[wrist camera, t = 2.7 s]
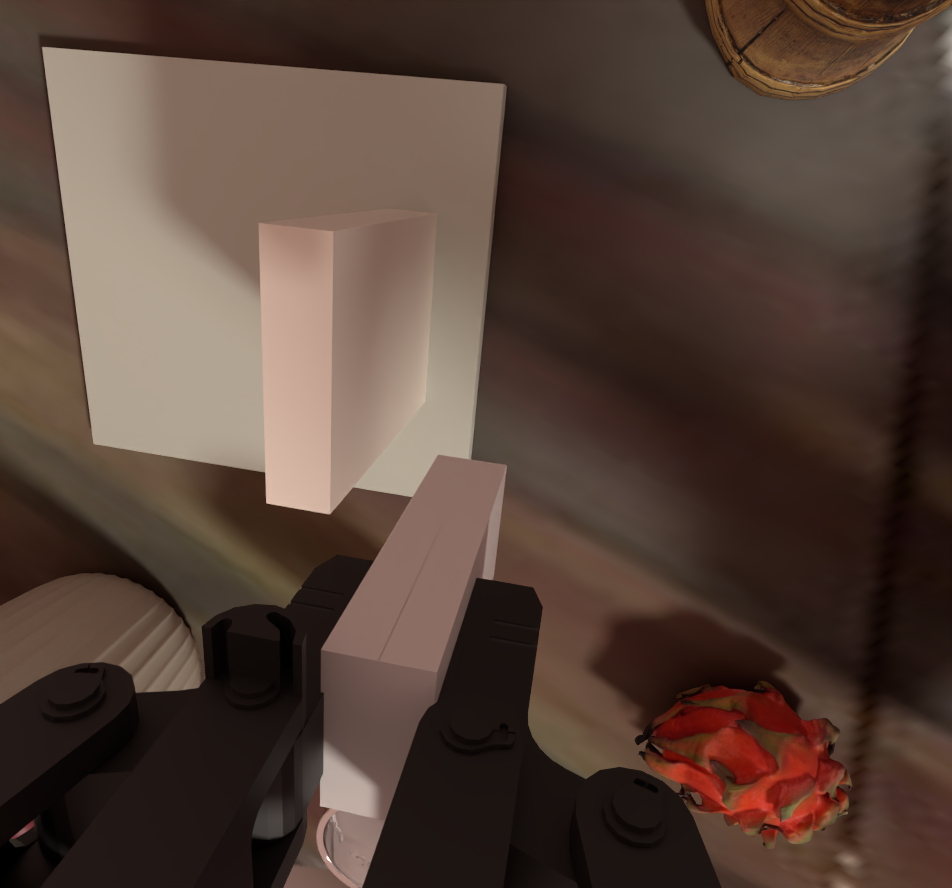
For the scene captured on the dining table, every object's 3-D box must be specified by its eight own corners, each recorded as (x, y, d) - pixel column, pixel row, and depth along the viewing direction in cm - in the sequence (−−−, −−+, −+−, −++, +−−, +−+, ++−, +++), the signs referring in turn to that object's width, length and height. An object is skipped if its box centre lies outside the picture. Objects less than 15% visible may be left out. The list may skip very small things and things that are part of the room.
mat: (506, 87, 32) (504, 83, 31) (467, 498, 40) (464, 505, 40) (56, 50, 36) (42, 46, 35) (104, 438, 44) (93, 443, 43)
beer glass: (381, 636, 45) (282, 833, 32) (454, 583, 43) (382, 772, 29) (451, 705, 46) (385, 925, 33) (527, 658, 44) (489, 874, 30)
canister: (112, 483, 45) (-264, 709, 26) (293, 675, 48) (81, 1007, 29) (-24, 606, 51) (-407, 861, 32) (143, 768, 54) (-113, 1090, 35)
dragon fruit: (835, 724, 43) (645, 673, 47) (883, 691, 36) (655, 633, 40) (829, 874, 39) (621, 806, 42) (882, 869, 32) (628, 788, 35)
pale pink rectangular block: (437, 213, 34) (333, 231, 21) (424, 401, 38) (330, 514, 25) (384, 207, 34) (251, 222, 22) (377, 394, 38) (259, 502, 25)
